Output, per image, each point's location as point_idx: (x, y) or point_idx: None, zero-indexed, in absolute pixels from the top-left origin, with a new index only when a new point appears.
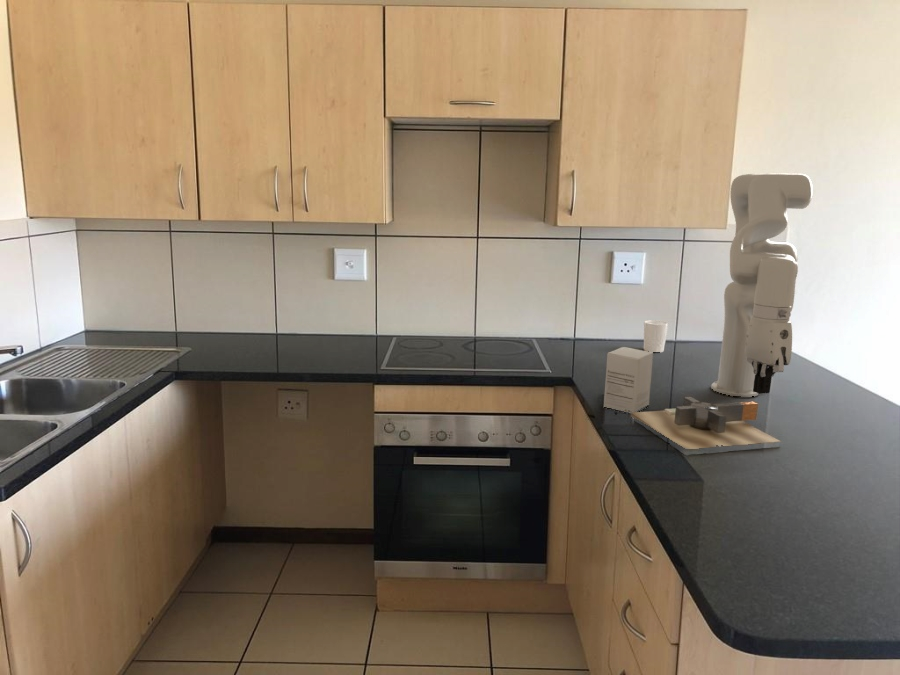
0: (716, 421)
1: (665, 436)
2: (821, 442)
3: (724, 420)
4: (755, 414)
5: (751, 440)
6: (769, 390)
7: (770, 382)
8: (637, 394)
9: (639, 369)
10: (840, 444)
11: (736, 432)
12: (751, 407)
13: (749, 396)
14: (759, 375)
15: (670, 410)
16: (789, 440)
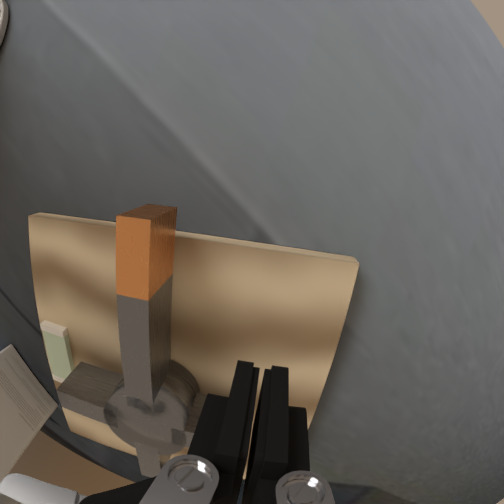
0: None
1: None
2: (369, 77)
3: None
4: (169, 217)
5: (312, 349)
6: (287, 376)
7: (288, 420)
8: (32, 430)
9: (2, 469)
10: (398, 41)
11: (236, 339)
12: (154, 251)
13: (3, 34)
14: (230, 502)
15: (61, 376)
16: (318, 166)
